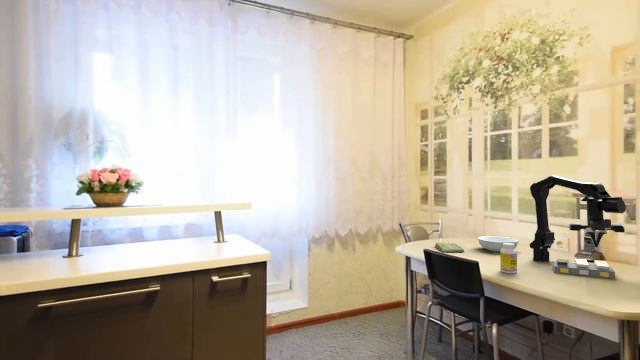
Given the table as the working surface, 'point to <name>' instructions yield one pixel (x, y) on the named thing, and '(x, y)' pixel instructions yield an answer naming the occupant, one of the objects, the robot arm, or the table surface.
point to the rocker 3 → (601, 264)
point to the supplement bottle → (508, 258)
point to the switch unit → (582, 270)
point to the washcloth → (449, 247)
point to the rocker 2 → (581, 262)
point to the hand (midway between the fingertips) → (596, 247)
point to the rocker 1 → (562, 261)
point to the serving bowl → (495, 242)
